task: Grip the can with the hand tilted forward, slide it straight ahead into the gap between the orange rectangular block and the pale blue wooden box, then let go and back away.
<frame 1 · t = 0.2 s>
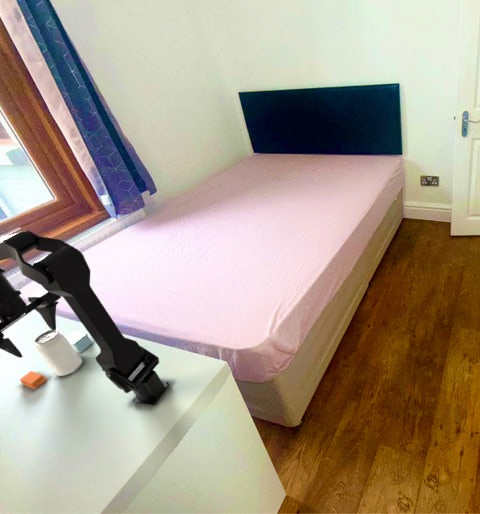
hand: (38, 343, 89), 14 cm above the table, tool pointing down, fingers open, 9 cm apart
orange rectangular block: (35, 382, 99), on the table
box: (80, 346, 109), on the table
can: (70, 368, 101), on the table
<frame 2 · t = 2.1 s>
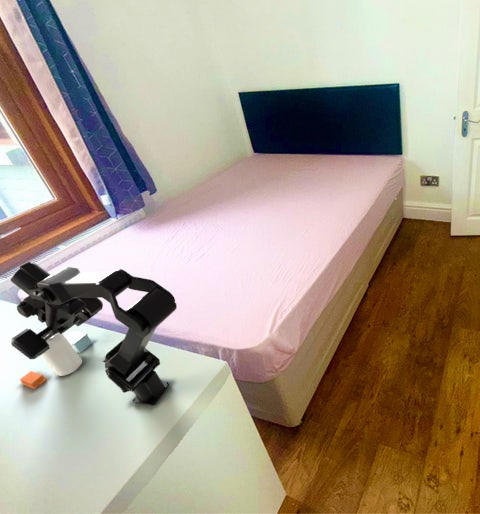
hand: (60, 337, 91), 13 cm above the table, tool tilted 45°, fingers open, 9 cm apart
nothing on the table moved.
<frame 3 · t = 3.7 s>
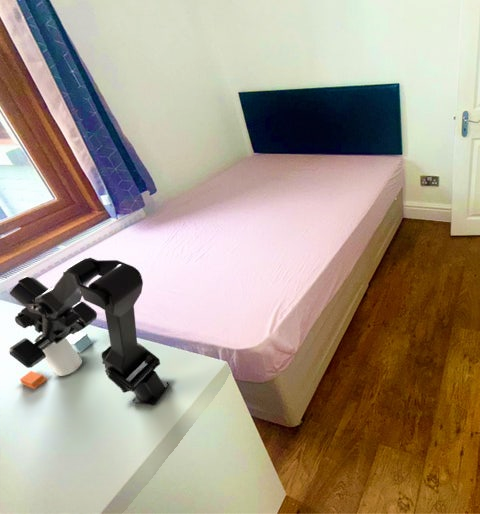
hand: (55, 345, 96), 9 cm above the table, tool tilted 45°, fingers open, 9 cm apart
nothing on the table moved.
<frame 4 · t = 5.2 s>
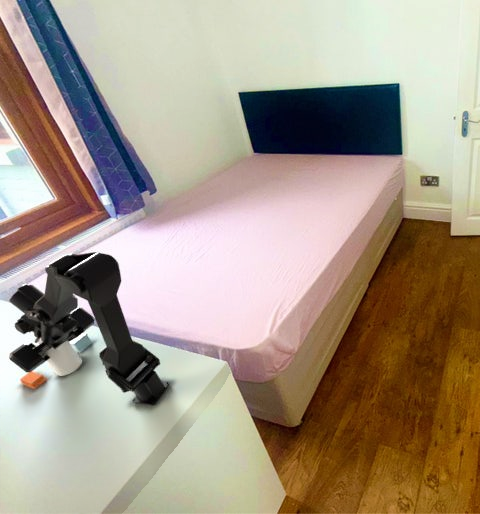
hand: (54, 350, 98), 7 cm above the table, tool tilted 45°, fingers closed on can, 6 cm apart
can: (70, 368, 101), on the table, touching gripper
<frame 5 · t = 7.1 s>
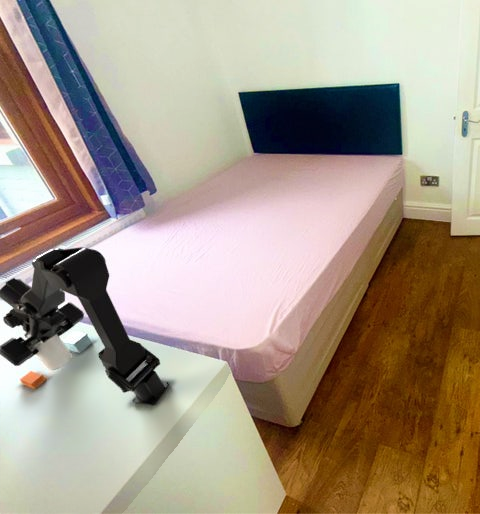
hand: (44, 344, 99), 8 cm above the table, tool tilted 45°, fingers closed on can, 6 cm apart
can: (60, 362, 102), point 1 cm above the table, touching gripper
when the fingers open (7 cm above the table, at t = 9.0 s): can stays where it is, on the table.
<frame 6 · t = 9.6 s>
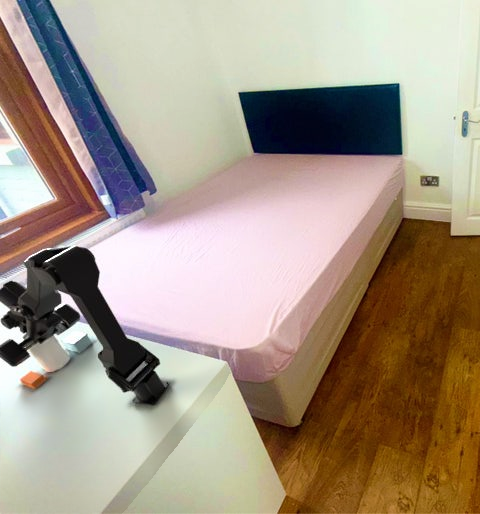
hand: (41, 345, 101), 7 cm above the table, tool tilted 45°, fingers open, 9 cm apart
can: (58, 364, 104), on the table
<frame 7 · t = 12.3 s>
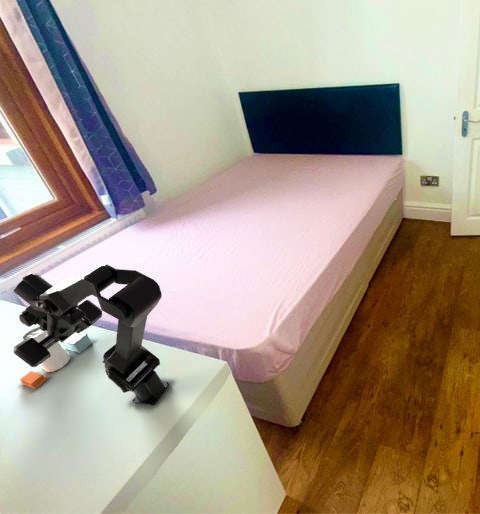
hand: (60, 344, 94), 10 cm above the table, tool tilted 45°, fingers open, 9 cm apart
nothing on the table moved.
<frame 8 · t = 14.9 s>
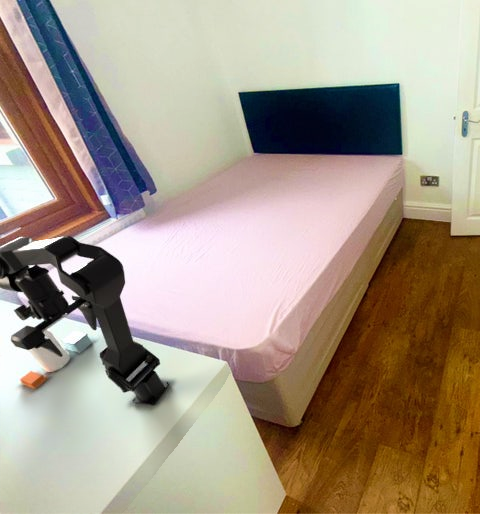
hand: (78, 342, 88), 13 cm above the table, tool pointing down, fingers open, 9 cm apart
nothing on the table moved.
at the end: can 0.1 cm from the target spot, on the table; can tilted 0°; the gripper is holding nothing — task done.
